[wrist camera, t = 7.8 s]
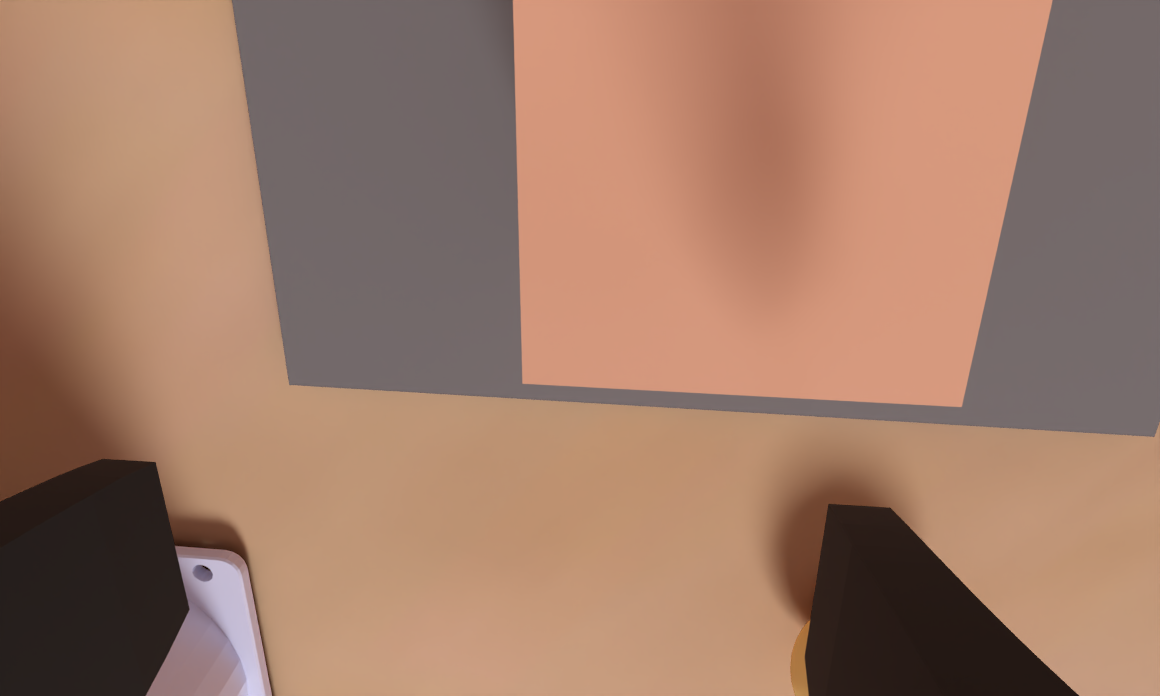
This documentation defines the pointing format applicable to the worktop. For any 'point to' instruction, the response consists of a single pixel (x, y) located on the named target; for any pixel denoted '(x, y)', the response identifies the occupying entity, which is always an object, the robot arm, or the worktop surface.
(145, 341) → the worktop surface
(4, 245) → the worktop surface
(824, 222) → the salmon pink cube
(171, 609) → the robot arm
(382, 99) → the mat
